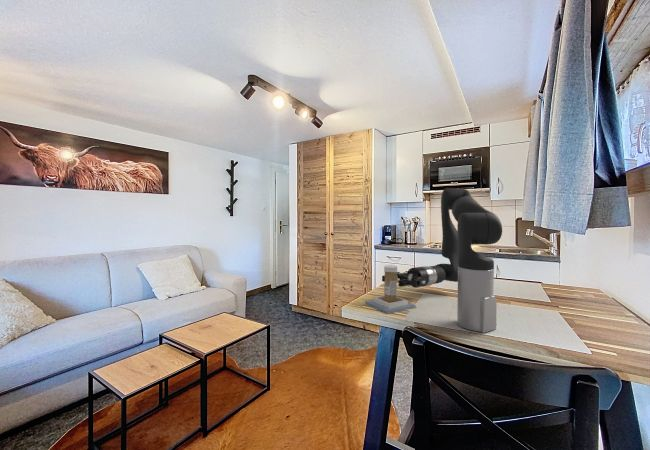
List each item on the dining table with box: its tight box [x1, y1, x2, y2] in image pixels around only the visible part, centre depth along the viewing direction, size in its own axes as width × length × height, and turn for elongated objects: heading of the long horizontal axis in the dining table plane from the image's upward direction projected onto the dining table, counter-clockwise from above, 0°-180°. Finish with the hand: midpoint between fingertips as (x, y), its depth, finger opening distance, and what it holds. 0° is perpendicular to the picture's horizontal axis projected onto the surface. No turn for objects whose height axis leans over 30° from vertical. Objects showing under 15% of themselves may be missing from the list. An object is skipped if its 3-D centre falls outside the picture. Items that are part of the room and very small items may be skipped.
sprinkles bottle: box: [383, 264, 398, 303], centre depth 99 cm, size 5×5×13 cm
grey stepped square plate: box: [365, 295, 417, 315], centre depth 99 cm, size 12×13×2 cm
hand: (390, 281), depth 99 cm, fingers open, 8 cm apart
